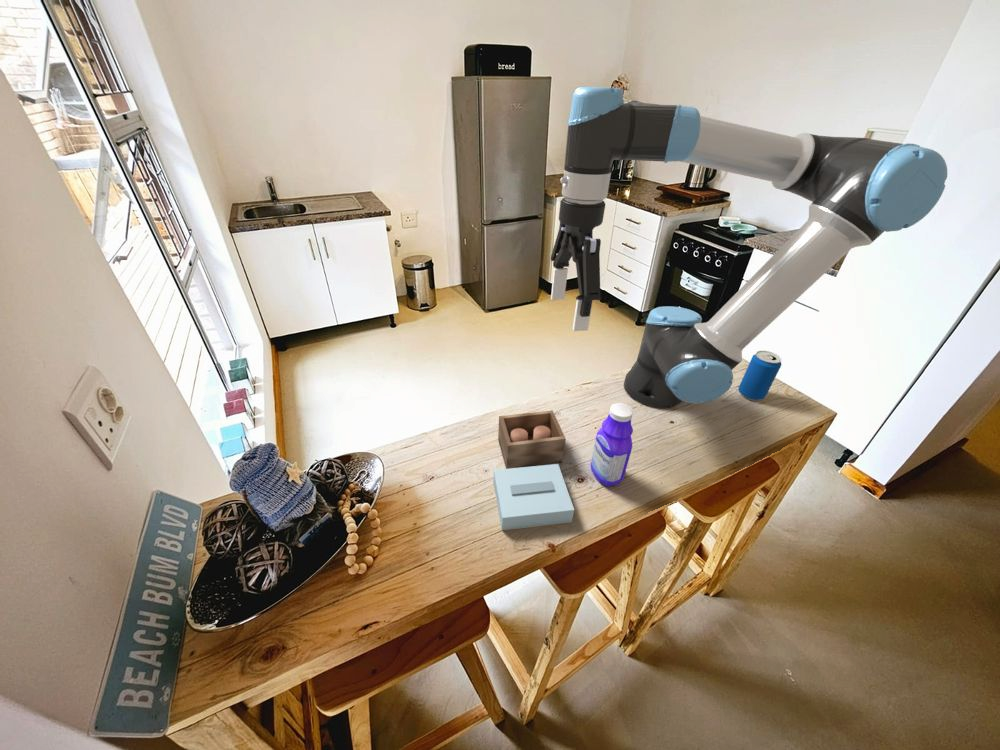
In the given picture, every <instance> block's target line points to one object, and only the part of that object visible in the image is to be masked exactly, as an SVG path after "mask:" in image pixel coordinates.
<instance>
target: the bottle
mask: <svg viewBox="0 0 1000 750" xmlns="http://www.w3.org/2000/svg"><path fill="white" fill-rule="evenodd" d="M633 414H634V410H633V409H632V407H631V406H629V405H628V404H625V403H623V402H622V403H621V402H620V403H619V402H616V403H613V404H612V405H611V406H610V409H609V412H608V415H607V417H606V418H605V419H604V420H603V421H602V423H601V427H600V428H599V429H598V431H597V432H596V436H595V440H594V446H593V450H592V456H591V461H590V471H591V472H592V474H593V476H594V477H595V479H596V480H597V481H598V482H600V483H601V484H602V485H604V486H606V487H613V486H615V485H618V484H620V483H621V482H622V481H623V480H624V478H625V475H626V471H627V468H628V464H629V460H630V456H631V455H632V454H631V453H632V449H633V440H632V435H633V432H634V428H633V426H632V418H633Z"/></svg>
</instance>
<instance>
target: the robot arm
mask: <svg viewBox="0 0 1000 750" xmlns="http://www.w3.org/2000/svg"><path fill="white" fill-rule="evenodd" d="M624 101H625V100H624V90H623V89H622V88H621V87H601V86H599V87H598V86H579V87H577V88H576V89H575V91H574V93H573V94H572V97H571V105H570V112H569V119H568V121H567V124H568V125H567V133H566V134H567V135H566V147H565V156H564V157H565V158H564V166H563V167H564V168H563V176H562V177H561V178H560V180H559V182H560V184H561V196H562V197H563V198H561V200H560V203H559V213H558V221H559V228H558V232H557V235H556V239H555V242H554V246H553V249H552V251H551V255H550V261H551V262H552V264H553V272H552V273H553V275H552V284H551V294H550V299H551V301H555V300H556V301H557V300H564V299H565V296H566V295H565V294H566V288H567V282H568V281H567V280H568V278H567V277H568V272H569V267H570V260H571V259H572V261H573V262H574V263H575V267H576V268H575V269H576V276H577V284H578V293H579V294H578V295H577V296H576V297H575V299H576V303H575V310H574V314H573V321H572V322H573V323H572V329H571V330H572V331H573V332H583V331H588V330H589V325H590V319H591V312H592V308H593V301H600V300H601V263H600V262H601V260H600V258H601V256H600V252H601V245H602V243H601V242H602V241H601V238H594V237H593V230H594V229H595V228H597V227H599V226H601V225H602V224H603V221H604V216H605V210H606V202H605V201H604V200H605V199H607V198H608V193H609V187H610V182H611V181H610V180H611V175H612V168H613V167H612V165H613V162H614V160H615V161H624V160H625V161H639V162H640V161H643V162H664V163H665V164H667V163H669V162H680V163H684V164H685V163H686V164H690V165H694V166H699V167H704V168H708V169H712V170H718V171H722V172H725V173H726V172H727V173H731V174H735V175H739V176H745V177H750V178H753V179H754V178H755V179H759V180H763V181H768V182H771V184H772V186H773V188H775V189H777V190H781V191H785V192H789V193H792V194H794V195H797V196H800V197H801V198H803V199H806V200H807V201H810V202H812V203H810V205H809V206H808V218H807V220H806V222H805V223H804V224H803V225H801V226H800V228H799V229H797V230H796V232H795V233H794V234H793V235H792V236H791V237H790V238H788V239H787V241H786V242H784V244H783V245H782V246H781V247H780V248H779V249H778V250H777V251H776V252H775V253H774V254H773V255H772V256H771V257H770V258H769V259H768V260H767V261H766V262H765V263H764V264H763V265H762V266H761V267H760V268H759V269H758V270H757V271H756V272H755V273H754V275H753V276H752V277H750V278H749V279H748V281H746V283H744V284H743V285H742V287H740V289H738V291H737V292H736V293H734V295H733V296H731V297H730V299H729V300H728V301H727V302H726V303H725V304H724V305H723V306H722V307H721V308H719V310H718V311H717V312H716V313H715V314H714V315H713V316H712V317H711V318H710V319H709V320H708V321H706V322H702V320H703V318H702V316H701V315H700V314H699V313H698V312H696V311H694V310H691V309H689V308H685V307H680V306H669V305H668V306H658V307H656V308H653V309H651V310H650V311H649V313H648V317H647V318H646V321H645V326H644V330H643V334H642V339H641V342H640V348H639V351H638V354H637V358H636V360H635V362H634V363H633V365H632V367H630V370H629V371H628V372H627V374H626V375H625V378H624V382H623V388H624V390H625V393H626V394H627V395H628V396H629V397H630V398H631V399H633V400H634V401H636V402H638V403H640V404H642V405H644V406H648V407H651V408H656V409H657V408H658V409H668V408H673V407H676V406H678V405H680V404H681V403H682V401H683V402H686V403H690V404H700V403H708V402H712V401H714V400H716V399H719V398H720V397H722V396H723V395H725V394H726V393H727V392H728V391H729V390H730V389H731V387H732V385H733V380H734V373H733V370H734V369H735V368H736V367H737V366H738V365H739V364H740V363H741V362H742V360H743V350H744V349H745V348H746V347H747V346H748V345H749V344H750V343H751V342H753V340H755V338H757V337H758V336H759V335H760V334H761V333H762V332H763V331H764V330H765V329H766V328H767V327H769V325H770V324H772V323H773V322H774V321H775V320H776V319H778V318H779V316H781V314H783V312H784V311H786V310H787V309H788V308H789V307H790V306H791V305H793V303H794V302H796V301H797V300H798V299H799V297H801V296H802V295H803V294H804V293H805V292H806V291H808V290H809V289H810V288H811V287H812V286H813V285H814V284H815V283H816V282H818V280H819V279H821V277H823V276H824V274H826V273H828V271H829V270H830V269H831V268H832V267H834V266H835V264H837V263H838V262H839V261H840V260H841V259H842V258H843V257H844V256H845V255H846V254H847V253H849V252H850V251H851V250H852V249H854V248H859V247H864V246H869V245H871V244H872V243H874V241H876V240H877V239H878V238H879V237H880V236H881V235H882V234H883V233H884V232H886V233H887V232H889V233H890V232H898V231H901V230H903V229H908V228H910V227H912V226H914V225H916V224H917V223H919V222H920V221H921V220H923V219H924V218H926V216H928V215H929V213H930V212H931V211H932V210H933V209H934V207H936V205H937V204H938V202H939V201H940V199H941V197H942V195H943V192H944V191H945V188H946V184H945V183H946V180H947V179H948V165H947V163H946V161H945V158H944V157H943V156H942V155H941V154H940V153H939V152H938V151H935V150H934V149H932V148H928V147H923V146H920V145H919V144H915V143H910V142H909V143H899V142H893V141H885V140H877V139H872V138H867V137H855V136H854V137H851V136H849V137H848V136H829V135H828V136H827V135H818V134H812V133H808V132H802V133H798V134H796V135H795V136H790V135H788V134H787V135H786V134H781V133H777V132H773V131H768V130H765V129H759V128H756V127H752V126H747V125H742V124H737V123H733V122H728V121H724V120H720V119H715V118H711V117H707V116H702V115H701V113H700V111H699V109H697V107H695V106H691V105H690V106H687V105H681V104H658V103H649V102H647V103H646V102H641V101H639V100H638V101H637V100H631V101H627V102H624Z"/></svg>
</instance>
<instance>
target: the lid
mask: <svg viewBox="0 0 1000 750" xmlns="http://www.w3.org/2000/svg"><path fill="white" fill-rule="evenodd" d="M492 483H493V488H494V494H495V499H496V505H497V510H498V515H499V522H500V528H501V531H507V530H508V531H509V530H515V529H524V528H526V529H527V528H533V527H542V526H551V525H558V524H559V525H560V524H567V523H573V519H574V512H575V508H574V505H573V503H572V499H571V496H570V494H569V491H568V488H567V485H566V481H565V480H564V476H563V474H562V471H561V468H560V464H559V463H556V464H549V465H541V466H531V467H521V468H510V469H506V468H502V469H493V482H492Z"/></svg>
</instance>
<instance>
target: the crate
mask: <svg viewBox="0 0 1000 750" xmlns="http://www.w3.org/2000/svg"><path fill="white" fill-rule="evenodd" d="M497 436H498V437H497V438H498V439H497V440H498V443H499V444H498V445H499V448H500V451H501V452H500V453H501V454H502V455H501V456H502V459H503V462H504V466H505V469H510V468H521V467H531V466H542V465H552V464H562V463H563V457H564V451H565V446H566V445H565V444H566V439H567V438H566V436H565V434H564V432H563V430H562V428H561V426H560V423H559V421H558V419H557V417H556V415H555V412H554V410H545V411H535V412H526V413H517V414H515V413H514V414H508V415H507V414H506V415H499V416H498V435H497Z"/></svg>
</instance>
